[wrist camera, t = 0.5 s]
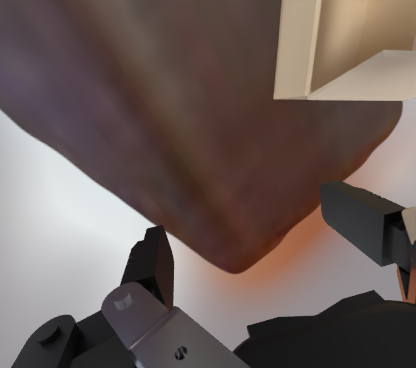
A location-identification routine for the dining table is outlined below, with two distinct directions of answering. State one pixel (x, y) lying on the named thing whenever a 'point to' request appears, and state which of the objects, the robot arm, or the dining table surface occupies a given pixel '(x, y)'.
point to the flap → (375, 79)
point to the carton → (336, 39)
